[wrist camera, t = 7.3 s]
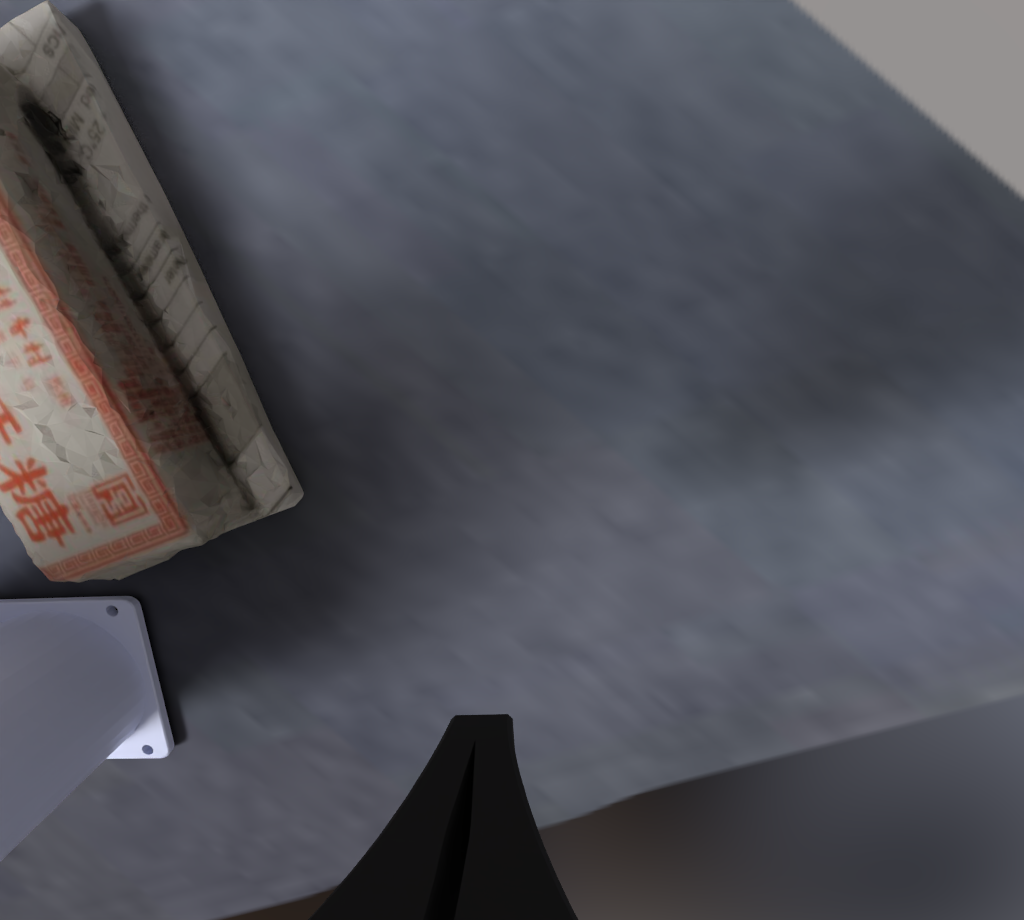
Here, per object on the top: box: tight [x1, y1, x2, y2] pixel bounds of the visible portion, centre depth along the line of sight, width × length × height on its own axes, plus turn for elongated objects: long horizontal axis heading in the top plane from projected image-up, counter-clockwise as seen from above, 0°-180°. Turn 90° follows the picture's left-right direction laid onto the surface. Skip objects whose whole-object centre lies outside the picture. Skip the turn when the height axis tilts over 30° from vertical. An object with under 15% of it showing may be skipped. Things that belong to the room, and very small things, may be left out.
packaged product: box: [0, 0, 304, 583], centre depth 17 cm, size 18×5×10 cm
